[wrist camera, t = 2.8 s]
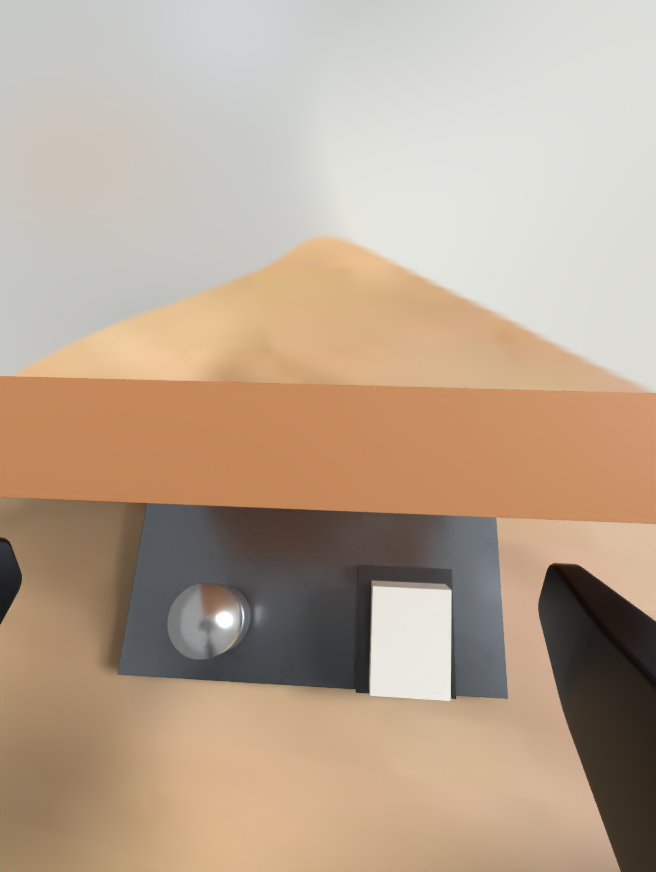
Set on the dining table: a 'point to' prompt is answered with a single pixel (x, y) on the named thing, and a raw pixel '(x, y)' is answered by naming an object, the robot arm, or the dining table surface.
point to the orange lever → (332, 447)
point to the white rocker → (410, 640)
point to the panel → (313, 591)
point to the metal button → (208, 620)
